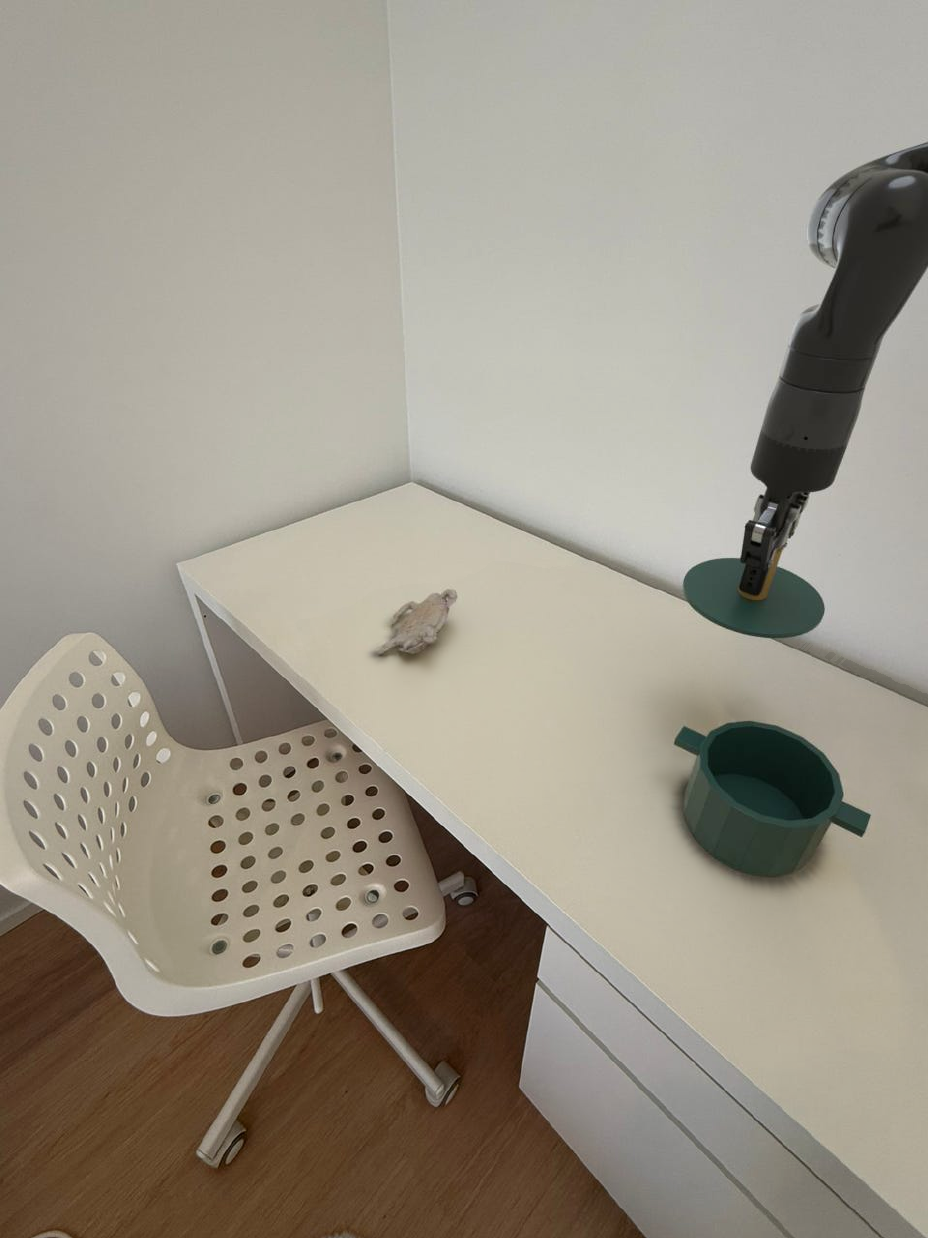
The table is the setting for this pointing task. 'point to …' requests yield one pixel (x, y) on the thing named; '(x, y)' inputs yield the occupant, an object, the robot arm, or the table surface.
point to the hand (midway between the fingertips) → (755, 583)
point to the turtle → (421, 622)
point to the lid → (753, 599)
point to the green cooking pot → (762, 797)
